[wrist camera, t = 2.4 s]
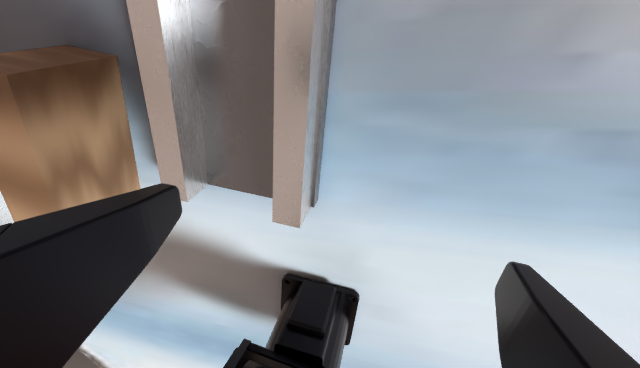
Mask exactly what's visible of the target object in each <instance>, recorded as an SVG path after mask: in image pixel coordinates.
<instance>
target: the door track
mask: <svg viewBox="0 0 640 368" xmlns="http://www.w3.org/2000/svg"><path fill="white" fill-rule="evenodd" d="M126 3H127V8H128V13H129V18H130V23H131V29H132V34H133V39H134V44H135V50H136V55H137V60H138V65H139V70H140V76H141V81H142V86H143V91H144V96H145V102H146V107H147V112H148V117H149V122H150V128H151V133H152V138H153V143H154V148H155V154H156V159H157V164H158V169H159V175H160V180H161V184H162V183H166V184H170V185H175V186H176V187H177V188H178V189H179V193H180V199H181V201H186V202H188V201H189V200H190V199H192V198H193V197H194V196H195V195H196V194H197V193H199V192H200V191H201V190H202V189H203V188H204V187H206V186H207V185H208V184H210V185H214V186H219V187H223V188H228V189H233V190H237V191H242V192H246V193H251V194H255V195H260V196H264V197H269V198H273V222H276V223H280V224H284V225H289V226H293V227H297V228H300V227H301V225H302V223H303V221H304V219H305V217H306V215H307V213H308V211H309V210H310V208H311V207H314V206H315V204H316V202H317V200H318V190H319V180H320V169H321V159H322V148H323V137H324V127H325V116H326V106H327V95H328V85H329V74H330V63H331V53H332V42H333V32H334V21H335V11H336V0H126Z"/></svg>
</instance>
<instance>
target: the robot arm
mask: <svg viewBox="0 0 640 368" xmlns="http://www.w3.org/2000/svg"><path fill="white" fill-rule="evenodd" d="M181 213H182V206H181V199H180V193H179V189H178V188H177V187H176V186H175V185H170V184H166V183H162V184H158V185H154V186H150V187H146V188H142V189H139V190H135V191H131V192H127V193H123V194H120V195H116V196H112V197H108V198H104V199H100V200H97V201H93V202H89V203H85V204H81V205H78V206H74V207H70V208H66V209H62V210H58V211H55V212H51V213H47V214H43V215H39V216H36V217H32V218H28V219H24V220H20V221H17V222H14V223H13V224H12V223H9V224H5V225H1V226H0V368H62V367H63V366H64V365H65V364H66V362H67V361H68V360H69V359H70V358H71V356H72V355H73V354H74V353H75V352H76V350H77V349H78V348H79V347H80V346H81V344H82V343H83V342H84V341H85V340H86V338H87V337H88V336H89V335H90V334H91V332H92V331H93V330H94V329H95V327H96V326H97V325H98V324H99V323H100V321H101V320H102V319H103V318H104V317H105V315H106V314H107V313H108V312H109V311H110V309H111V308H112V307H113V306H114V305H115V303H116V302H117V301H118V300H119V298H120V297H121V296H122V295H123V294H124V292H125V291H126V290H127V289H128V288H129V286H130V285H131V284H132V283H133V282H134V280H135V279H136V278H137V277H138V275H139V274H140V273H141V272H142V271H143V269H144V268H145V267H146V266H147V265H148V263H149V262H150V261H151V259H152V258H153V257H154V255H155V254H156V253H157V251H158V250H159V248H160V247H161V245H162V244H163V242H164V241H165V239H166V238H167V236H168V235H169V233H170V232H171V230H172V229H173V227H174V226H175V224H176V223H177V221H178V220H179V218H180V216H181ZM353 297H354V298H353ZM358 302H359V294H358V293H357V292H355V291H352V290H348V289H344V288H340V287H336V286H333V285H329V284H325V283H321V282H317V281H313V280H310V279H306V278H302V277H298V276H294V275H290V274H285V275H284V277H283V279H282V295H281V313H280V315H279V318H278V320H277V322H276V324H275V327H274V329H273V331H272V333H271V336H270V338H269V340H268V343H267V345H266V347H265V348H264V347H262V346H259V345H256V344H254V343H251V341H250V340H247V339H244V340H243V341H242V343H241V344H240V346H239V347H238V348H236V349H235V350H234V352H233V354H232V355H231V357H230V358H229V360H228V361H227V363H226V364H225V366H224V367H223V368H340V363H341V359H342V354H343V349H344V345H348V344H349V343H350V339H351V335H352V330H353V325H354V321H355V316H356V311H357V306H358ZM495 304H496V317H497V330H498V343H499V353H500V359H501V365H502V368H640V364H639V363H637V362H636V361H635V360H634V359H633V358H632V357H631V356H630V355H628V354H627V353H626V352H625V351H624V350H623V349H622V348H621V347H620V346H618V345H617V344H616V343H615V342H614V341H613V340H612V339H611V338H610V337H608V336H607V335H606V334H605V333H604V332H603V331H602V330H601V329H599V328H598V327H597V326H596V325H595V324H594V323H593V322H592V321H591V320H589V319H588V318H587V317H586V316H585V315H584V314H583V313H582V312H581V311H579V310H578V309H577V308H576V307H575V306H574V305H573V304H572V303H570V302H569V301H568V300H567V299H566V298H565V297H564V296H563V295H562V294H560V293H559V292H558V291H557V290H556V289H555V288H554V287H553V286H552V285H550V284H549V283H548V282H547V281H546V280H545V279H544V278H543V277H541V276H540V275H539V274H538V273H537V272H536V271H535V270H534V269H533V268H531V267H530V266H529V265H526V264H521V263H517V262H509V263H508V264H507V265H506V267H505V269H504V271H503V273H502V275H501V277H500V279H499V281H498V283H497V285H496V288H495Z"/></svg>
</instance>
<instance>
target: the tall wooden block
mask: <svg viewBox="0 0 640 368" xmlns="http://www.w3.org/2000/svg"><path fill="white" fill-rule="evenodd" d="M139 189H140V184H139V178H138V173H137V167H136V161H135V156H134V150H133V145H132V139H131V133H130V128H129V122H128V116H127V111H126V105H125V100H124V94H123V88H122V83H121V77H120V71H119V66H118V60H117V56H115V55H110V54H105V53H101V52H96V51H91V50H87V49H82V48H77V47H73V46H68V45H64V46H55V47H46V48H38V49H29V50H20V51H11V52H3V53H0V191H1V193H2V195H3V197H4V200H5V202H6V204H7V206H8V209H9V211H10V213H11V215H12V218H13V220H14V222H17V221H20V220H24V219H28V218H32V217H36V216H39V215H43V214H47V213H51V212H55V211H58V210H62V209H66V208H70V207H74V206H78V205H81V204H85V203H89V202H93V201H97V200H100V199H104V198H108V197H112V196H116V195H120V194H123V193H127V192H131V191H135V190H139Z"/></svg>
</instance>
